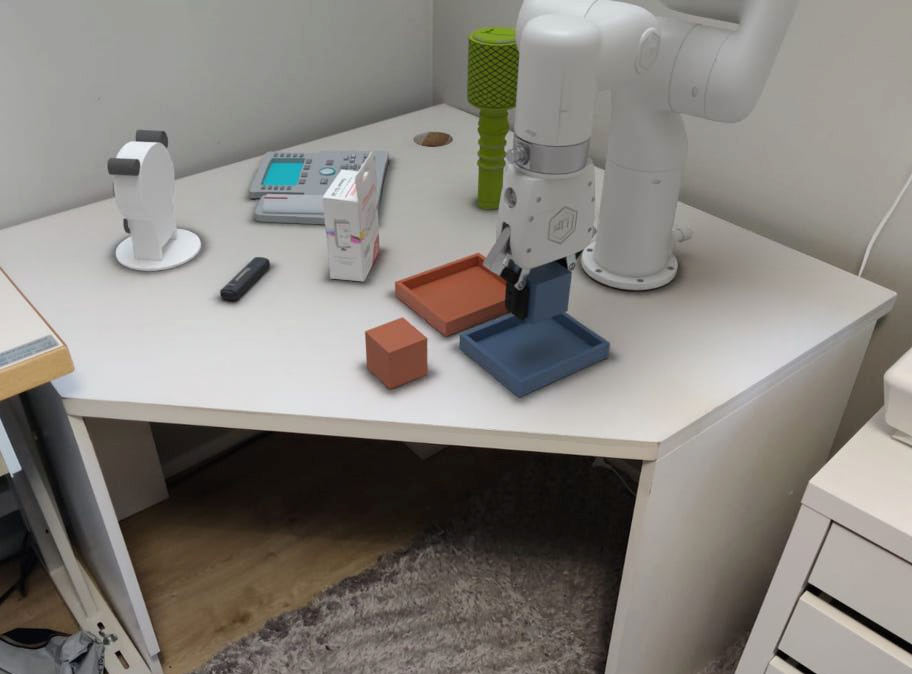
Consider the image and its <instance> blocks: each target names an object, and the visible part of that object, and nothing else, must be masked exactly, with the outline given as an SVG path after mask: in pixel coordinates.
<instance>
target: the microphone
mask: <svg viewBox="0 0 912 674" xmlns="http://www.w3.org/2000/svg"><path fill="white" fill-rule="evenodd" d="M467 41H468V42H467V43H468V44H467V45H468V47H467V80H466V81H467V83H466V85H467V86H466V97H467V98H466V99H467V102H468V104H469V105H470V106H472V107H473V108H475V109H478V110H480V111H479V112H478V114H479V117H478V122H477V125H478V127H477V132H478V135H479V138H478V141H477V145H478V146H479V150H478V151H477V156H478V159H477V160H476V165H477V166H478V173H477V174H478V175H477V176H478V178H477V206H478V207H479V208H481V209H485V210H495V209H499V203H500V197H501V192H502V187H503V183H504V173H505V171H504V170H505V167H506V165H507V162H506V160H505V159H506V152H507V151H506V150H505V148H506V146H507V144H508V143H507V140H506V136H507V135H508V133H509V131H510V124H509V118H508V115H509V112H508V111H509V110H512V109H516V97H517V82H518V68H519V54H520V53H519V51H518V49H517V45H516V29H515V28H511V27H506V26H486V27H481V28H479V29H476V30H474V31H472V32H470V33H469V34H468V40H467Z"/></svg>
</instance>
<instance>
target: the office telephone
mask: <svg viewBox="0 0 912 674" xmlns="http://www.w3.org/2000/svg"><path fill="white" fill-rule="evenodd" d="M371 152H373V156H374V163H375V170H376V180H377V202H378V208H379V206H380V201H381V195H382V189H383V184H384V178H385V173H386V170H387V168H388V163H389V159H390V157H389V155H390V154H389V153H390V152H389V151H387V150H320V151H319V152H287V151H285V152H283V151H282V152H281V151H267V152H266V153H265V154H264V156H263V158H262V160H261V162H260V164H259V166H258V169H257V171H256V172H255V175H254V177H253V180H252V182H251V183H250V184H251V185H250V187H249V196H250V198H251V199H259V200H258V202H257V204H256V208H255V210H254V218H255V221H257V222H261V223H262V222H263V223H280V224H281V223H282V224H284V223H285V224H304V225H325V218H324V208H323V200H322V197H323V196H324V194H325V193H326V191H327V190H328V188H329V187H330V185H331V184H332V183H333V181H334V180H335V178H336V177H337V175H338V174H339V172H340V171H341V170H351V171H359V169H360V168H361V166H362V165H363V163H364V162H365V160H366V159H367V157H368V156H369V154H370V153H371ZM365 172H368V169H367V170H365Z"/></svg>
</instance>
